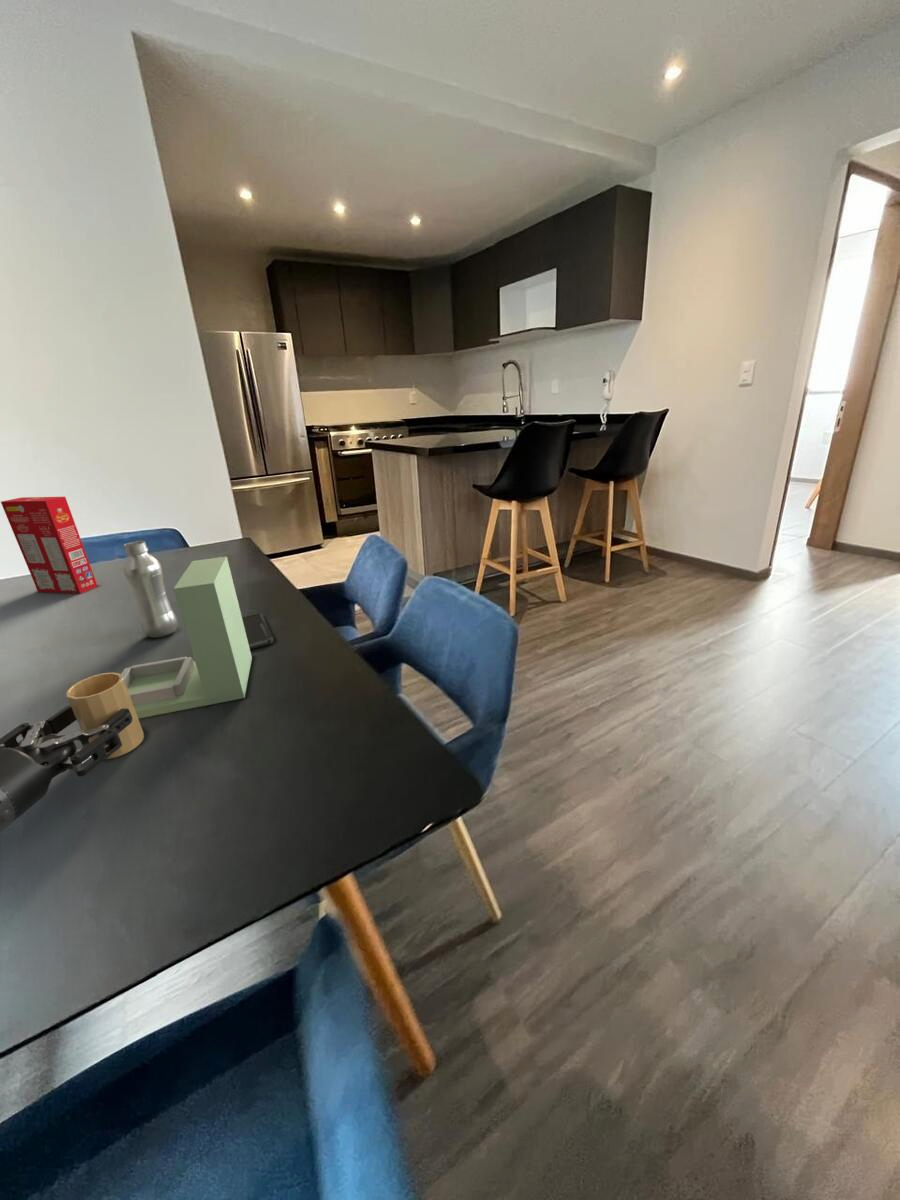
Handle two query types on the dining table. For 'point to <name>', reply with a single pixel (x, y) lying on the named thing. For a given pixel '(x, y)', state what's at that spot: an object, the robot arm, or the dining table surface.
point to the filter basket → (105, 707)
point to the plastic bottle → (149, 590)
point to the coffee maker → (198, 648)
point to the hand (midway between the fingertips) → (101, 712)
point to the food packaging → (50, 544)
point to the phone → (257, 631)
